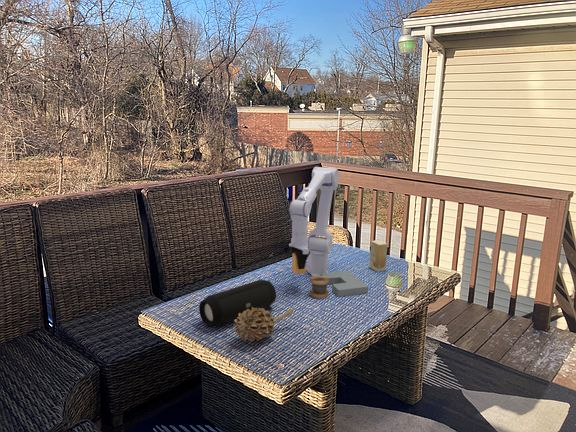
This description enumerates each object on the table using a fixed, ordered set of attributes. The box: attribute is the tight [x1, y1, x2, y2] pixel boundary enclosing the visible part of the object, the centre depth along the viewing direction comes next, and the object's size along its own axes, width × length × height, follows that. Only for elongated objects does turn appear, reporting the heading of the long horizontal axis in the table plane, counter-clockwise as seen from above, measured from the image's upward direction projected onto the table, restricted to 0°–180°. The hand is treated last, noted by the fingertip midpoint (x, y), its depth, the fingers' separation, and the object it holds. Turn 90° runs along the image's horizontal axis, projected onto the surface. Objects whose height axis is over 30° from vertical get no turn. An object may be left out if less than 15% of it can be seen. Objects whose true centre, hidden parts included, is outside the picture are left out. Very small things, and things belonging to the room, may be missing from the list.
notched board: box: [320, 270, 369, 297], centre depth 177 cm, size 18×12×2 cm, turn 18°
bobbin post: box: [309, 276, 330, 299], centre depth 169 cm, size 7×7×6 cm
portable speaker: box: [198, 279, 277, 327], centre depth 150 cm, size 26×10×10 cm, turn 133°
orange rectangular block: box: [291, 252, 307, 275], centre depth 172 cm, size 4×4×7 cm
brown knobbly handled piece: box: [233, 307, 296, 342], centre depth 138 cm, size 22×10×10 cm, turn 134°
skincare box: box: [369, 239, 388, 273], centre depth 195 cm, size 6×4×12 cm
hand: (299, 266), depth 173 cm, fingers closed on orange rectangular block, 4 cm apart
